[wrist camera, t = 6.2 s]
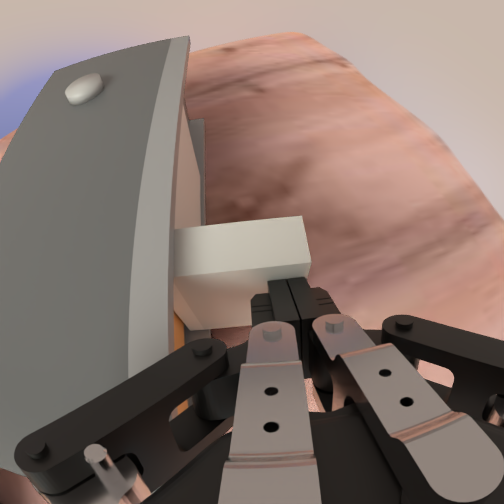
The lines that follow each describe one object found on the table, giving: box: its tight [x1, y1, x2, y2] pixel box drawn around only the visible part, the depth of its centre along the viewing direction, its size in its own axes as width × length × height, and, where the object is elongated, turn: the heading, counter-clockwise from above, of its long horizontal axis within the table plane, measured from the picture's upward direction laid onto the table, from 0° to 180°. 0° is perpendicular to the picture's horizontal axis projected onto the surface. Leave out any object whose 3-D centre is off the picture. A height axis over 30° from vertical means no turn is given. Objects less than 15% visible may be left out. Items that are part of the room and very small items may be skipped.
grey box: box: [0, 36, 211, 494], centre depth 17 cm, size 11×27×10 cm, turn 6°
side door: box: [173, 106, 312, 331], centre depth 17 cm, size 6×11×7 cm, turn 6°
